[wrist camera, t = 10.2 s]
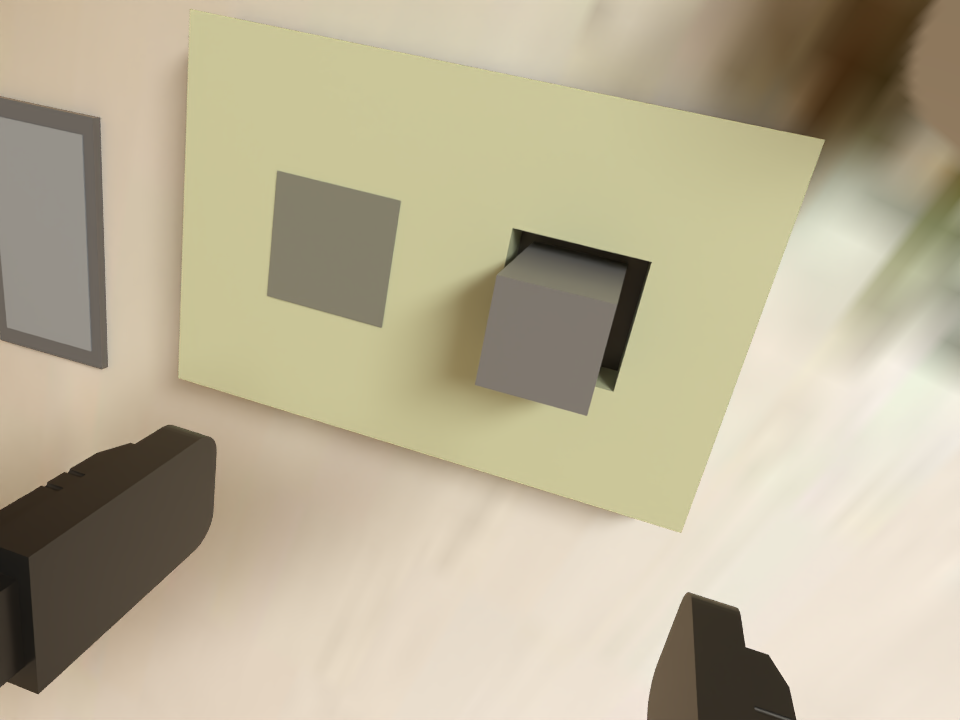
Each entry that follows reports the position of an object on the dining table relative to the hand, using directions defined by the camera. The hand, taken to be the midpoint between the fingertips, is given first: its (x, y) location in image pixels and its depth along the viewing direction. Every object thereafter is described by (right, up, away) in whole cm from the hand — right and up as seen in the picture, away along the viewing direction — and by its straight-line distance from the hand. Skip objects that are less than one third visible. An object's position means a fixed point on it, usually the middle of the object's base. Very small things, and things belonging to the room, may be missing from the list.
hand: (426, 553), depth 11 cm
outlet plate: (0, +7, +19) cm, 21 cm away
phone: (-21, +10, +25) cm, 34 cm away
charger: (+5, +6, +18) cm, 20 cm away
